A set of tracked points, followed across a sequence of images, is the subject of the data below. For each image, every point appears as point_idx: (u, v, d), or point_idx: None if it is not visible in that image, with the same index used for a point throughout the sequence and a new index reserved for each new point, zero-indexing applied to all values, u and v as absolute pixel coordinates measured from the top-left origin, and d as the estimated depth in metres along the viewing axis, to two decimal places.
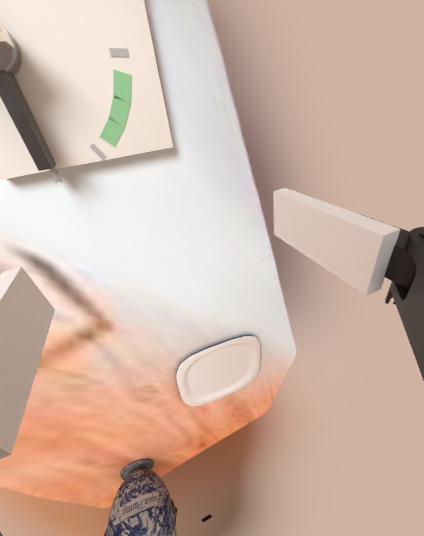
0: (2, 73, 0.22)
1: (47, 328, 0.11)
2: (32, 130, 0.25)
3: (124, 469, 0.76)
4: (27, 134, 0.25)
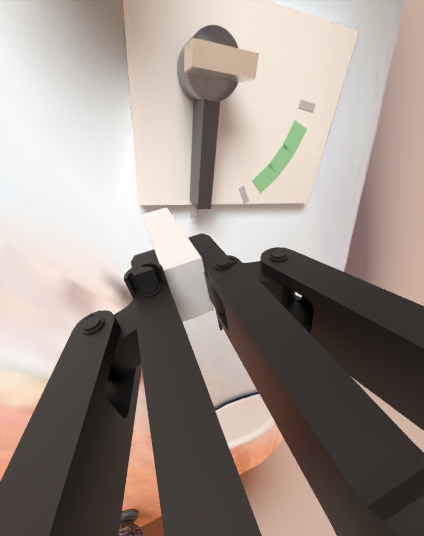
0: (216, 104, 0.19)
1: None
2: (213, 167, 0.21)
3: None
4: (207, 170, 0.21)
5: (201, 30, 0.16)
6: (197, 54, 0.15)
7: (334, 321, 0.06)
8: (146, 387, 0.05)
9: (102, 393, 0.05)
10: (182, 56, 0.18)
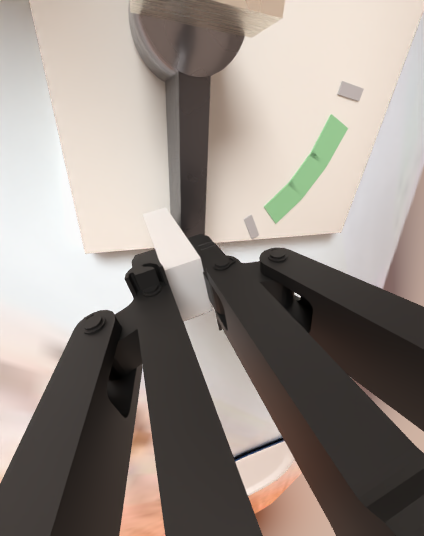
0: (204, 83, 0.10)
1: None
2: (203, 196, 0.12)
3: None
4: (193, 201, 0.12)
5: None
6: None
7: (333, 321, 0.06)
8: (147, 386, 0.05)
9: (103, 392, 0.05)
10: None
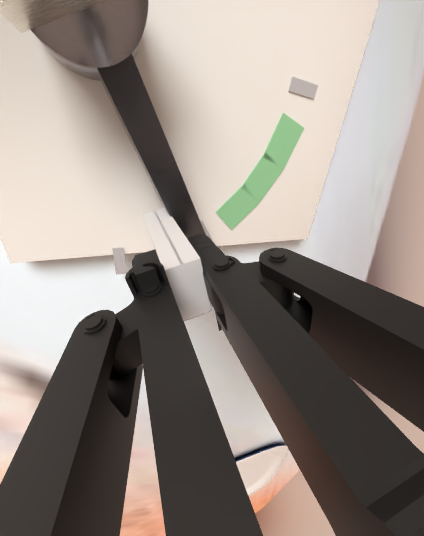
0: (129, 65, 0.09)
1: None
2: (182, 184, 0.12)
3: None
4: (174, 193, 0.12)
5: None
6: None
7: (333, 322, 0.06)
8: (147, 386, 0.05)
9: (104, 391, 0.05)
10: None
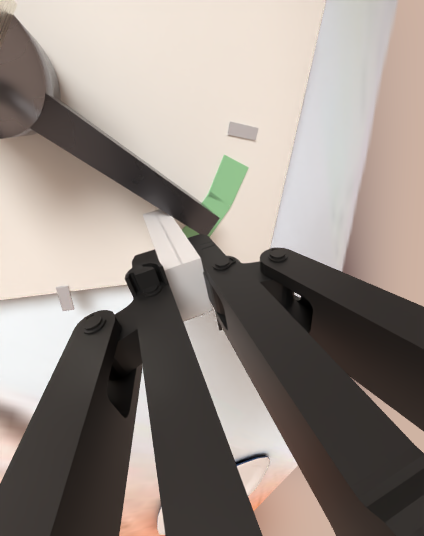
0: (50, 105, 0.09)
1: None
2: (161, 179, 0.11)
3: None
4: (159, 193, 0.12)
5: None
6: None
7: (333, 321, 0.06)
8: (147, 387, 0.05)
9: (103, 392, 0.05)
10: None
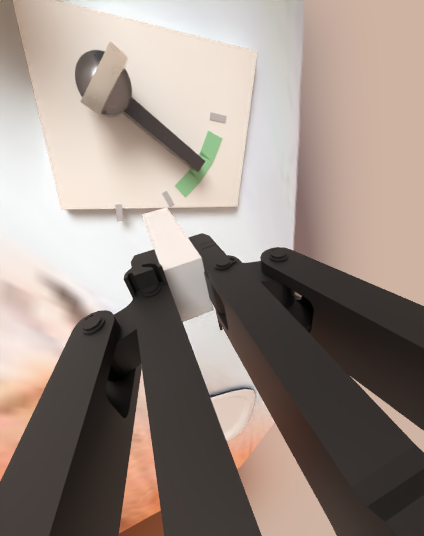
0: (132, 101, 0.21)
1: None
2: (176, 137, 0.24)
3: None
4: (175, 144, 0.24)
5: (76, 80, 0.19)
6: (92, 105, 0.18)
7: (334, 321, 0.06)
8: (146, 387, 0.05)
9: (102, 393, 0.05)
10: None
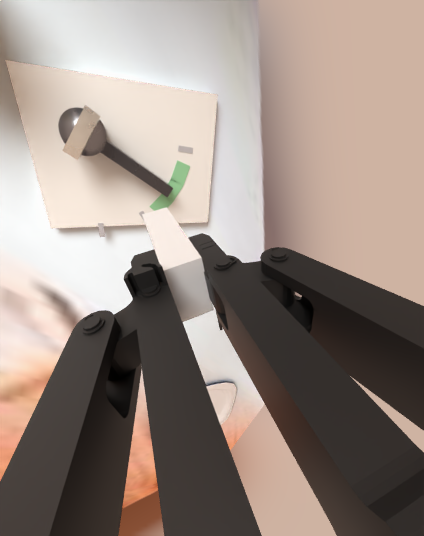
0: (107, 144, 0.26)
1: None
2: (146, 170, 0.28)
3: None
4: (146, 176, 0.29)
5: (60, 131, 0.24)
6: (72, 152, 0.23)
7: (334, 321, 0.06)
8: (146, 387, 0.05)
9: (102, 393, 0.05)
10: None
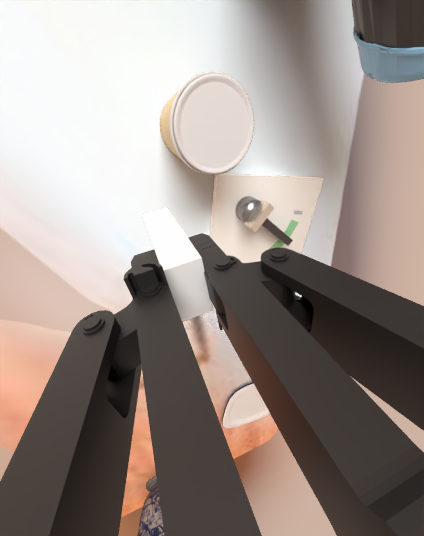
0: None
1: None
2: (281, 231, 0.43)
3: (152, 479, 0.85)
4: (280, 234, 0.43)
5: (244, 214, 0.38)
6: (254, 228, 0.38)
7: (334, 321, 0.06)
8: (146, 387, 0.05)
9: (102, 393, 0.05)
10: None
